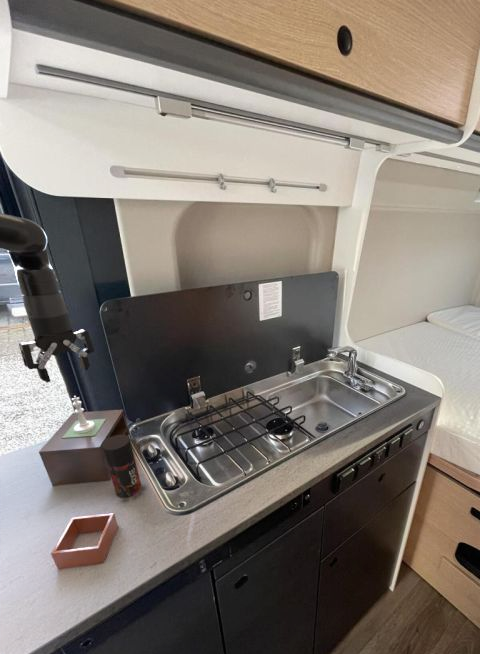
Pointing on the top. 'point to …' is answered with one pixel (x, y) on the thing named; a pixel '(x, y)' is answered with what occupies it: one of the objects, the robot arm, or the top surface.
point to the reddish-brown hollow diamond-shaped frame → (87, 555)
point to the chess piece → (81, 418)
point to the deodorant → (122, 465)
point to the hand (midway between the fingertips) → (67, 375)
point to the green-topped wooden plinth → (82, 448)
